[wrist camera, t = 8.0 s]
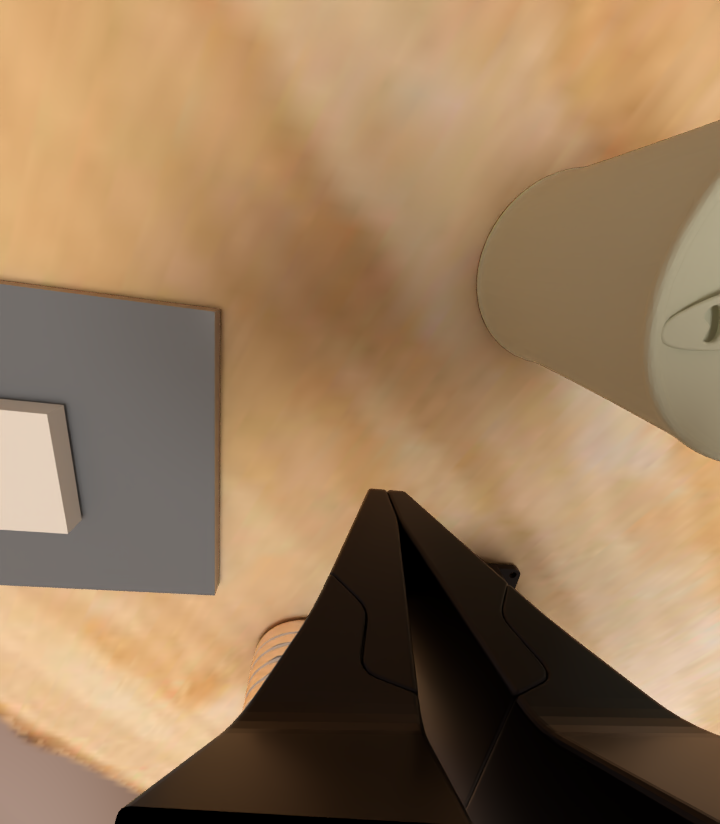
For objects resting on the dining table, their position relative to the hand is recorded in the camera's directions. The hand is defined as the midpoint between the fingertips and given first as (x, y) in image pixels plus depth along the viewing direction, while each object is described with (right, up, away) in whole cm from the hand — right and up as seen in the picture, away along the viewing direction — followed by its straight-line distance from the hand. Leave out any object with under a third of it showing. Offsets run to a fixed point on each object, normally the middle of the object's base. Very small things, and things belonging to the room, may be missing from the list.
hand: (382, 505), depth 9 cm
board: (-17, 0, +12) cm, 21 cm away
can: (+10, +9, +11) cm, 17 cm away
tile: (-16, -1, +11) cm, 19 cm away
